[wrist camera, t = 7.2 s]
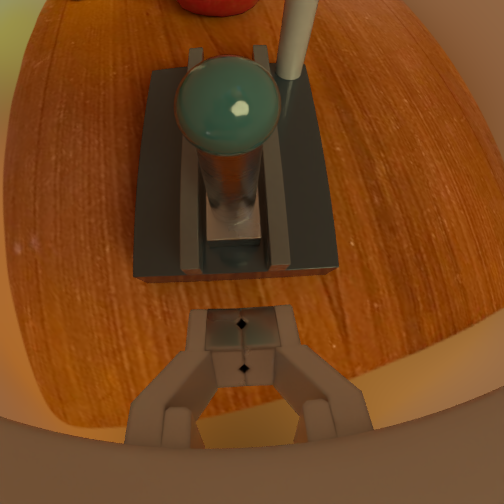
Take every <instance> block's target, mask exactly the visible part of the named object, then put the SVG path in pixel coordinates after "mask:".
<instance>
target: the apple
mask: <svg viewBox="0 0 504 504" xmlns="http://www.w3.org/2000/svg"><path fill="white" fill-rule="evenodd" d="M258 1H259V0H177V2H178V3H179V4H180V5H181V6H182V8H183V9H186V10H188V11H190V12H192V13H195V14H201V15H206V16H219V17H227V16H232V15H237V14H242V13H244V12H245V11H247V10H249V9H250V8H252V7H254V6H255V4H256V3H257V2H258Z"/></svg>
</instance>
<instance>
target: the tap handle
mask: <svg viewBox="0 0 504 504" xmlns="http://www.w3.org/2000/svg"><path fill="white" fill-rule="evenodd" d="M174 115H175V120H176V123H177V125H178V128H179V130H180V131H181V133H182V135H183V136H184V137H185V138H186V140H187V141H188V142H189V143H191V144H192V145H193V146H194V147H196V151H197V155H198V159H199V163H200V167H201V172H202V176H203V180H204V184H205V204H206V241H207V243H208V245H209V247H226V246H247V245H260V242H261V238H262V232H261V217H260V202H259V188H258V178H259V170H260V163H261V155H262V147H263V143H264V142H265V141H266V140H267V139H268V138H269V137H270V136H271V134H272V133H273V132H274V130H275V128H276V126H277V124H278V121H279V118H280V115H281V95H280V91H279V88H278V86H277V84H276V82H275V80H274V78H273V77H272V75H271V74H270V73H269V72H268V71H267V70H266V69H265V68H264V67H263V66H262V65H260V64H259V63H257V62H255V61H253V60H251V59H249V58H246V57H243V56H238V55H219V56H214V57H211V58H208V59H205V60H203V61H201V62H200V63H198V64H197V65H195V66H194V67H193V68H191V69H190V70H189V71H188V72H187V73H186V75H185V76H184V77H183V78H182V80H181V82H180V84H179V86H178V88H177V90H176V94H175V98H174Z"/></svg>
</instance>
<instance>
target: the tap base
mask: <svg viewBox="0 0 504 504" xmlns="http://www.w3.org/2000/svg"><path fill="white" fill-rule="evenodd" d="M318 2H319V0H285V4H284V11H283V18H282V25H281V32H280V39H279V46H278V53H277V60H276V63H269V59H268V52H267V46H266V45H253V52H252V60H253V61H255V62H257V63H259V64H260V65H262V66H263V67H264V68H265V69H266V70H267V71H268V72H269V73H270V74H271V75H272V77H273V78H274V80H275V82H276V84H277V86H278V88H279V91H280V95H281V115H280V118H279V121H278V124H277V126H276V128H275V130H274V132H273V133H272V134H271V136H270V137H269V138H268V139H267V140H266V141H265V142H264V143H263V147H262V155H261V163H260V170H259V178H258V188H259V202H260V217H261V232H262V238H261V242H260V245H247V246H226V247H209V245H208V243H207V241H206V204H205V184H204V180H203V176H202V172H201V167H200V163H199V159H198V155H197V151H196V147H194V146H193V145H192V144H191V143H189V142H188V141H187V140H186V138H185V137H184V136H183V135H182V133H181V131H180V130H179V128H178V125H177V123H176V120H175V115H174V98H175V94H176V90H177V88H178V86H179V84H180V82H181V80H182V78H183V77H184V76H185V75H186V73H187V72H188V71H189V70H190V69H191V68H193V67H194V66H195V65H197V64H198V63H200V62H201V61H203V60H204V52H203V48H202V47H200V48H190V49H189V58H188V67H179V68H170V69H162V70H154V71H152V75H151V81H150V86H149V92H148V98H147V105H146V111H145V118H144V125H143V133H142V141H141V149H140V158H139V168H138V179H137V191H136V206H135V224H134V252H133V277H135V278H137V279H139V280H142V281H144V282H146V283H168V282H195V281H219V280H240V279H260V278H278V277H295V276H312V275H326V274H327V273H329V272H331V271H333V270H335V269H336V268H338V267H339V262H338V253H337V244H336V235H335V227H334V220H333V212H332V205H331V198H330V191H329V184H328V178H327V172H326V166H325V160H324V154H323V148H322V143H321V137H320V132H319V127H318V121H317V116H316V111H315V107H314V102H313V97H312V92H311V88H310V83H309V79H308V75H307V70H306V66H305V64H304V60H305V56H306V52H307V47H308V43H309V39H310V35H311V31H312V27H313V23H314V18H315V14H316V10H317V6H318Z"/></svg>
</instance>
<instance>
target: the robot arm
mask: <svg viewBox="0 0 504 504" xmlns="http://www.w3.org/2000/svg"><path fill="white" fill-rule="evenodd" d="M256 385H273V386H274V387H275V388H276V390H277V391H278V392H279V393H280V394H281V395H282V397H283V398H284V399H285V400H286V401H287V402H288V404H289V405H290V406H291V407H292V408H293V409H294V410H295V412H296V413H297V414H298V415H299V416H300V418H299V422H298V426H297V430H296V433H295V437H294V444H289V445H278V446H266V447H252V448H229V449H228V448H227V449H205V446H204V443H203V441H202V438H201V436H200V433H199V431H198V428H197V425H196V423H195V422H196V421H197V419H198V418H199V416H200V415H201V413H202V412H203V411H204V409H205V408H206V406H207V405H208V403H209V402H210V400H211V399H212V397H213V395H214V394H215V392H216V391H217V388H220V387H237V386H256ZM0 504H504V386H503V387H500V388H498V389H496V390H493V391H491V392H489V393H487V394H484V395H482V396H479V397H477V398H475V399H472V400H470V401H467V402H465V403H462V404H459V405H456V406H454V407H451V408H448V409H445V410H443V411H439V412H437V413H433V414H430V415H427V416H424V417H421V418H418V419H414V420H411V421H407V422H404V423H400V424H397V425H393V426H389V427H385V428H381V429H376V430H374V429H373V426H372V423H371V420H370V416H369V413H368V410H367V407H366V403H365V401H364V397H363V394H362V391H361V390H359V389H358V388H357V387H356V386H354V385H353V384H352V383H351V382H350V381H348V380H347V379H346V378H345V377H344V376H342V375H341V374H340V373H339V372H338V371H336V370H335V369H334V368H333V367H332V366H330V365H329V364H328V363H327V362H326V361H324V360H323V359H322V358H321V357H320V356H319V355H317V354H316V353H315V352H314V351H313V350H311V349H310V348H309V347H308V346H307V345H301V343H300V339H299V334H298V330H297V326H296V322H295V317H294V313H293V309H292V306H291V305H279V306H274V307H273V306H268V307H253V308H237V309H208V310H191V311H190V314H189V322H188V331H187V340H186V349H185V351H180V352H179V353H178V354H177V355H176V356H175V358H174V359H173V360H172V361H171V362H170V363H169V364H168V365H167V366H166V367H165V368H164V369H163V370H162V371H161V372H160V373H159V374H158V376H157V377H156V378H155V379H154V380H153V381H152V382H151V383H150V384H149V385H148V386H147V387H146V388H145V389H144V390H143V391H142V392H141V393H140V394H139V396H138V397H137V398H136V399H135V400H134V401H133V402H132V403H131V407H130V412H129V418H128V423H127V430H126V435H125V441H124V444H122V443H114V442H107V441H100V440H94V439H88V438H83V437H78V436H72V435H68V434H63V433H58V432H53V431H49V430H45V429H42V428H38V427H34V426H30V425H26V424H23V423H20V422H16V421H13V420H10V419H7V418H3V417H0Z"/></svg>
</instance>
